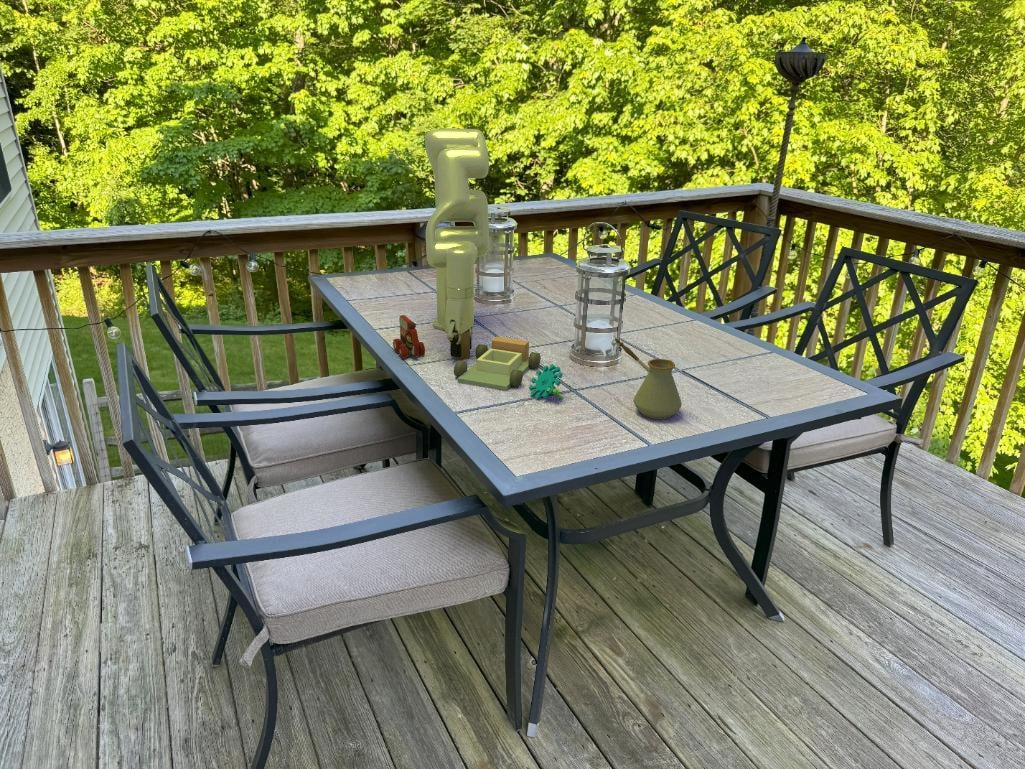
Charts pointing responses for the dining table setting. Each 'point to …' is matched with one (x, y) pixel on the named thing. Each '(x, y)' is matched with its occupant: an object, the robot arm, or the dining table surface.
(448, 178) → the robot arm
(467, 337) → the wooden block
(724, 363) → the dining table surface
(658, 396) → the coffee pot
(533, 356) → the chassis
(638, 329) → the dining table surface
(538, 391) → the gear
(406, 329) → the red toy vehicle
